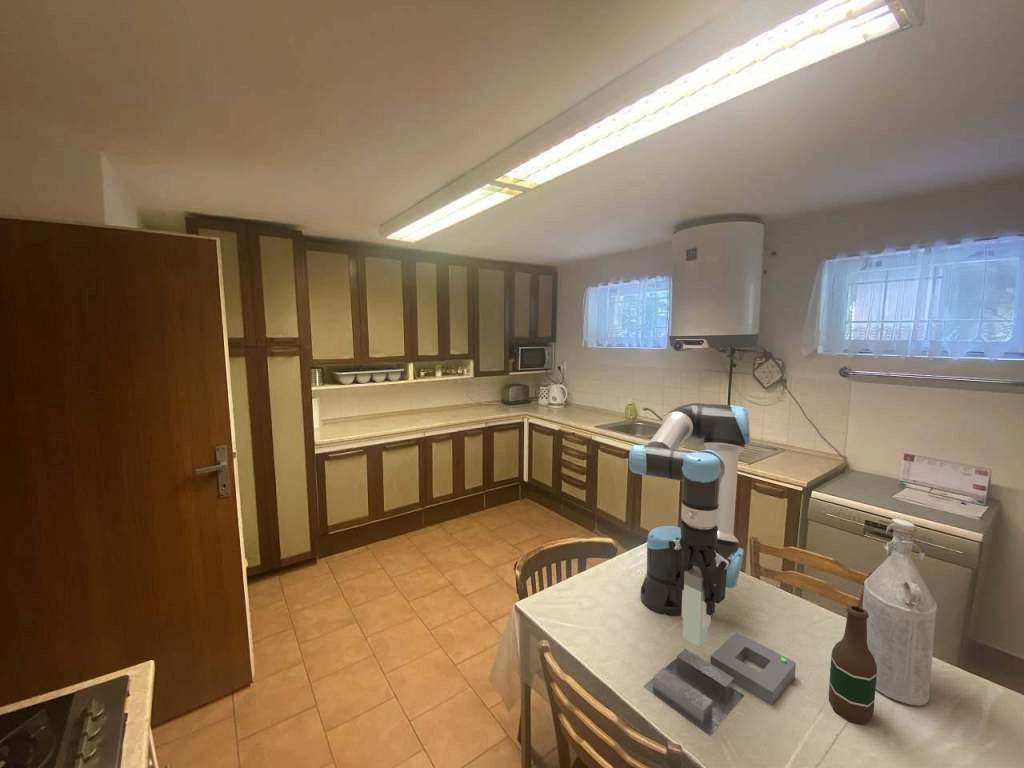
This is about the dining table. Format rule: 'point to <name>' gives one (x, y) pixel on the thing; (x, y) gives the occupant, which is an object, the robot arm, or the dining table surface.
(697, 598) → the plug
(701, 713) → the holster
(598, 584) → the dining table surface
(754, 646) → the port
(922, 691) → the canister
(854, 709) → the beer bottle
